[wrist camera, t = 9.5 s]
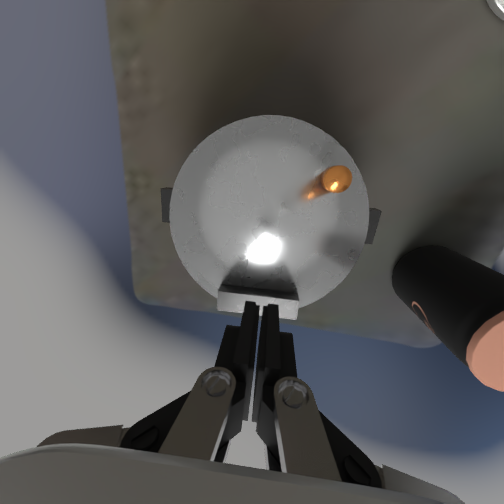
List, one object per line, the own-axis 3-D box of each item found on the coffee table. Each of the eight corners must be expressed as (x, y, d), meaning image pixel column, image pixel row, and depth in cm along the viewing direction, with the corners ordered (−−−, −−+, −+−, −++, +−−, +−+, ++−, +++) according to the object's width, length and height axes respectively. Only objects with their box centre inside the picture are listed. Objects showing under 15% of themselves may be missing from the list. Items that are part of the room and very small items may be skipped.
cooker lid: (171, 109, 23) (157, 100, 20) (388, 128, 22) (406, 121, 19) (175, 296, 30) (165, 309, 27) (341, 316, 29) (348, 332, 26)
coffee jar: (375, 280, 41) (447, 362, 24) (422, 230, 37) (546, 285, 20) (422, 310, 42) (522, 408, 25) (472, 265, 38) (627, 343, 22)
